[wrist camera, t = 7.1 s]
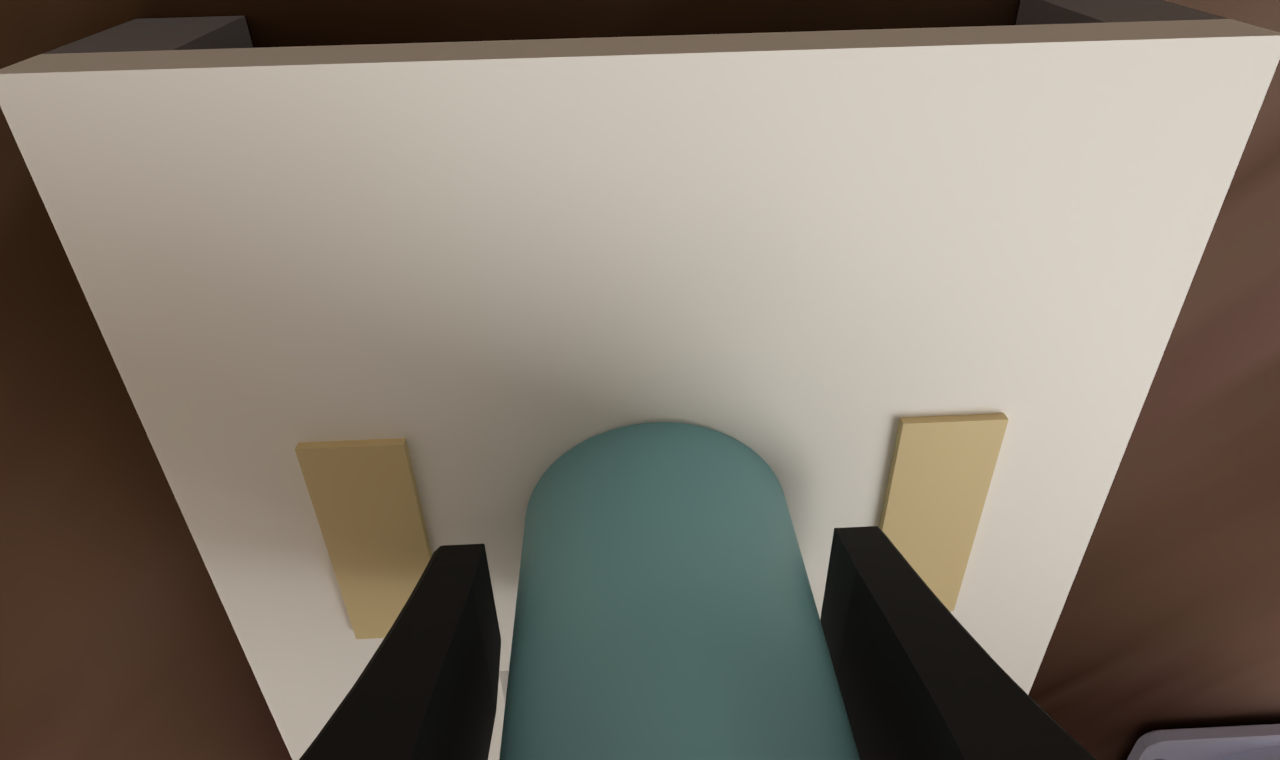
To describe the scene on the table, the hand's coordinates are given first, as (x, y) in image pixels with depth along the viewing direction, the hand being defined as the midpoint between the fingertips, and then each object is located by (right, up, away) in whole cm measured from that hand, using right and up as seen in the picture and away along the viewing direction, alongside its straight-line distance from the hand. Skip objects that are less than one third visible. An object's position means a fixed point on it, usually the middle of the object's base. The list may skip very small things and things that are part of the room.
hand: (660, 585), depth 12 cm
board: (0, 0, +5) cm, 5 cm away
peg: (0, +3, +4) cm, 4 cm away
